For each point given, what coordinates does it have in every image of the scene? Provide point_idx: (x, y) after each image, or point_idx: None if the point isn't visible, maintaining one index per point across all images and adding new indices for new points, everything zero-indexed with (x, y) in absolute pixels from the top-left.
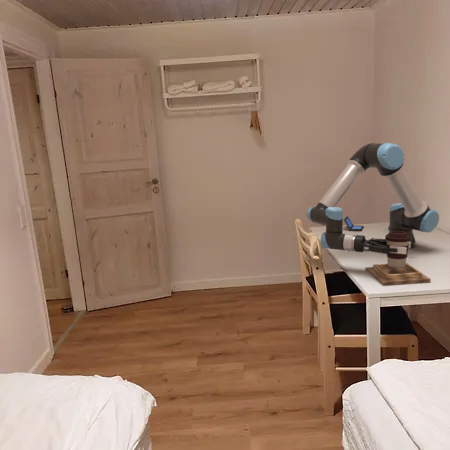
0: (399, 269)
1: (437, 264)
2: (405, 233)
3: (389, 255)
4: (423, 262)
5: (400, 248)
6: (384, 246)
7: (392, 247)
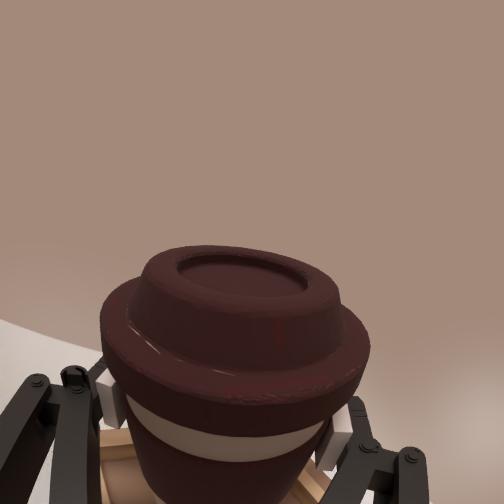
0: (139, 490)
1: (50, 353)
2: (265, 251)
3: (285, 494)
4: (16, 376)
5: None
6: (365, 476)
7: (348, 419)
